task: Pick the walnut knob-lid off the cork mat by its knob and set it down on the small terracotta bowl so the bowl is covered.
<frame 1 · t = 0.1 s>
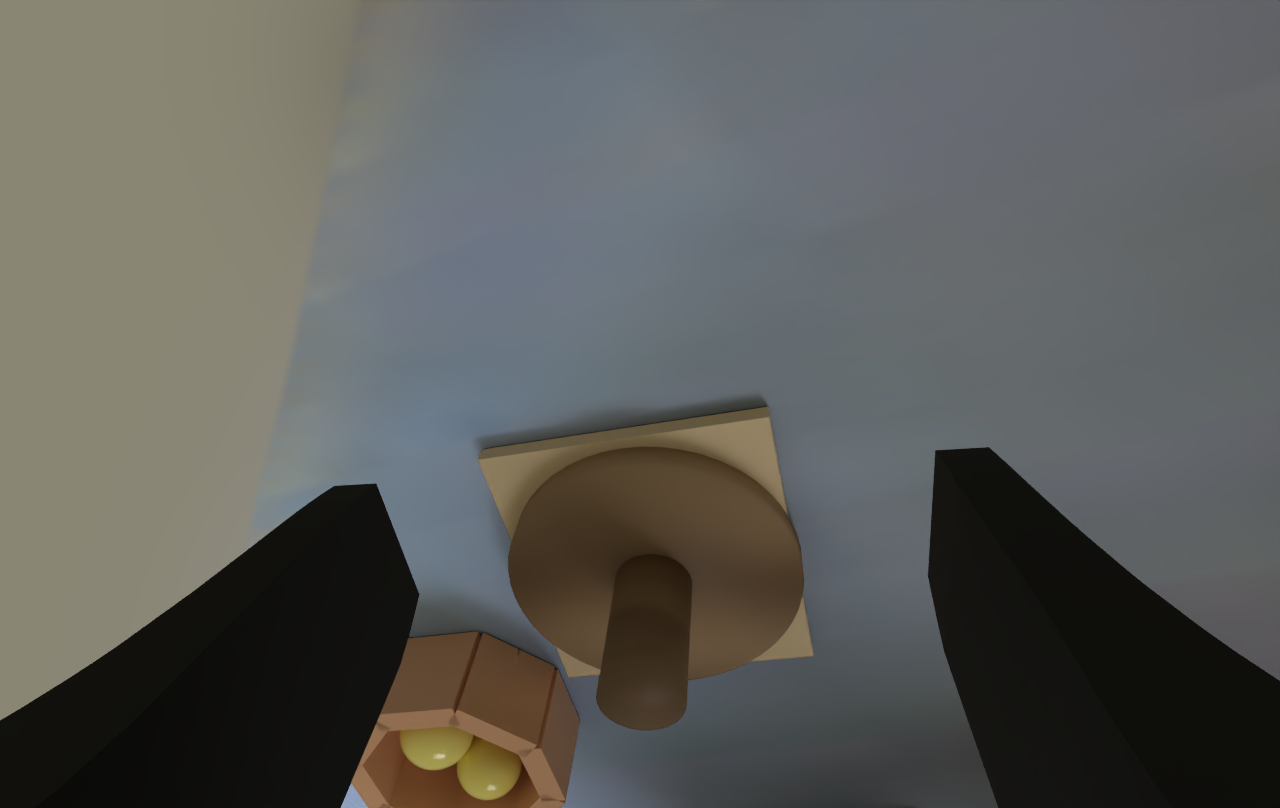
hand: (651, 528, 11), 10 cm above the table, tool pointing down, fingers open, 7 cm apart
mat: (657, 552, 24), on the table
bowl: (475, 703, 29), on the table
lid: (655, 563, 24), resting on mat
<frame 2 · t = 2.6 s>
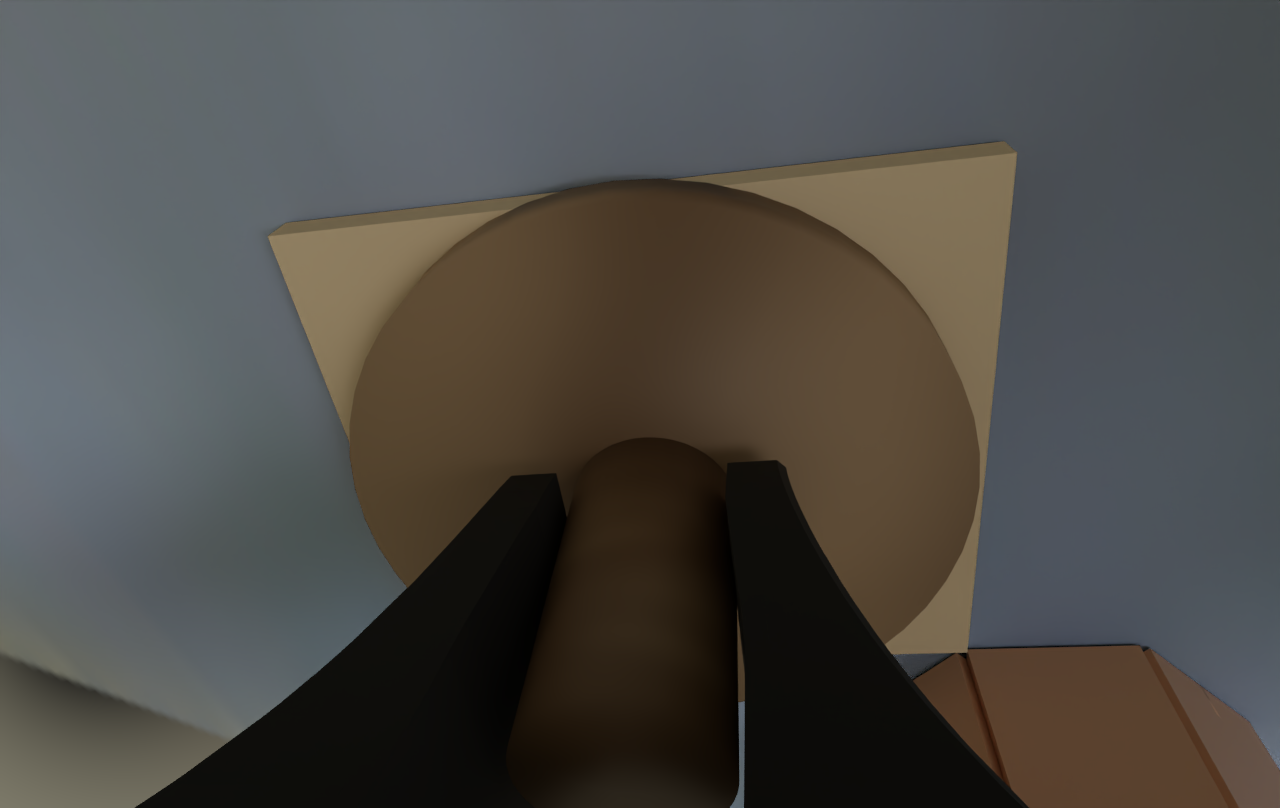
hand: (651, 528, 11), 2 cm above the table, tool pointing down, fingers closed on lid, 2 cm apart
mat: (661, 449, 12), on the table
bowl: (1029, 775, 15), on the table
lid: (658, 469, 12), resting on mat, touching gripper
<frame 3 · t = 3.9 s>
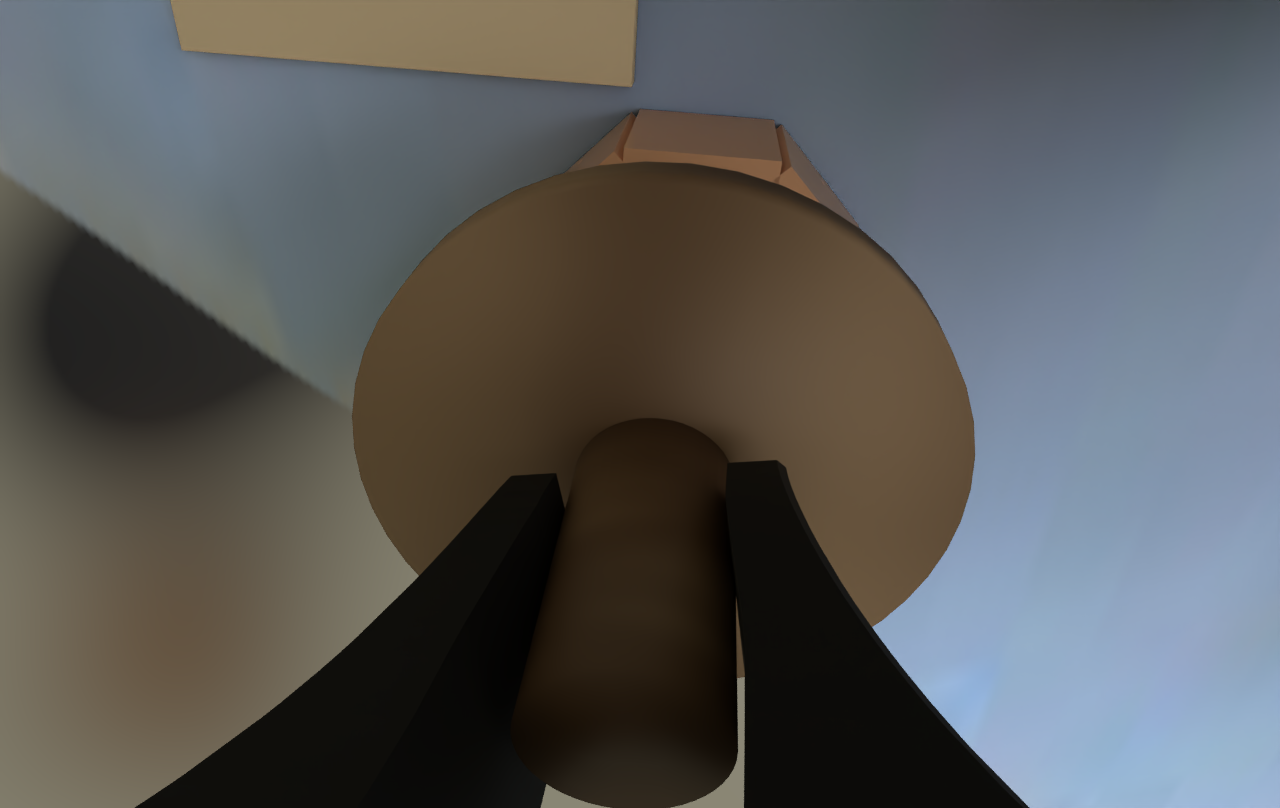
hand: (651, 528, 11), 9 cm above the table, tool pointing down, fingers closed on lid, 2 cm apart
bowl: (690, 275, 18), on the table
lid: (658, 449, 12), point 7 cm above the table, touching gripper
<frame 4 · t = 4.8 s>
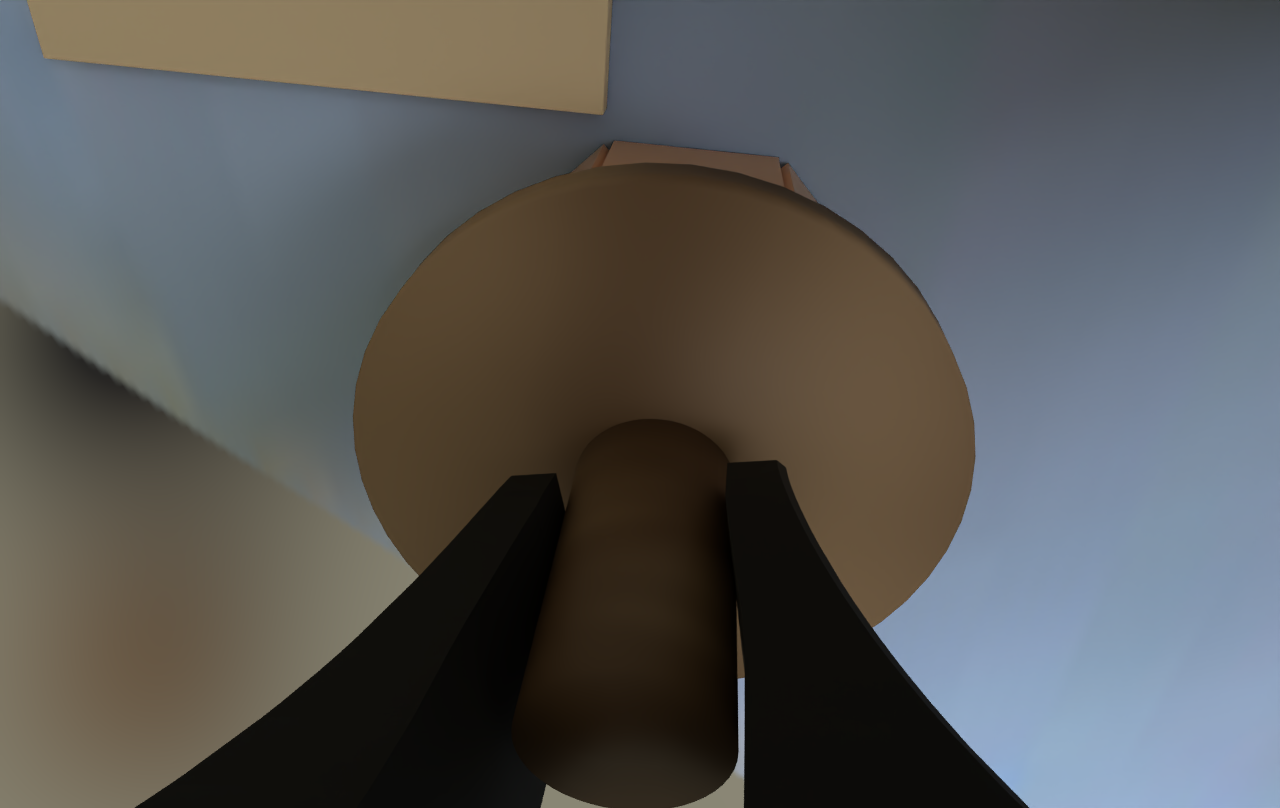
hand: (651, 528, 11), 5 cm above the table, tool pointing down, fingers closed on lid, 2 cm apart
bowl: (674, 338, 15), on the table
lid: (658, 450, 12), point 4 cm above the table, touching gripper
when the fingers open (5 cm above the table, at t = 5.2 s): lid stays where it is, resting on bowl.
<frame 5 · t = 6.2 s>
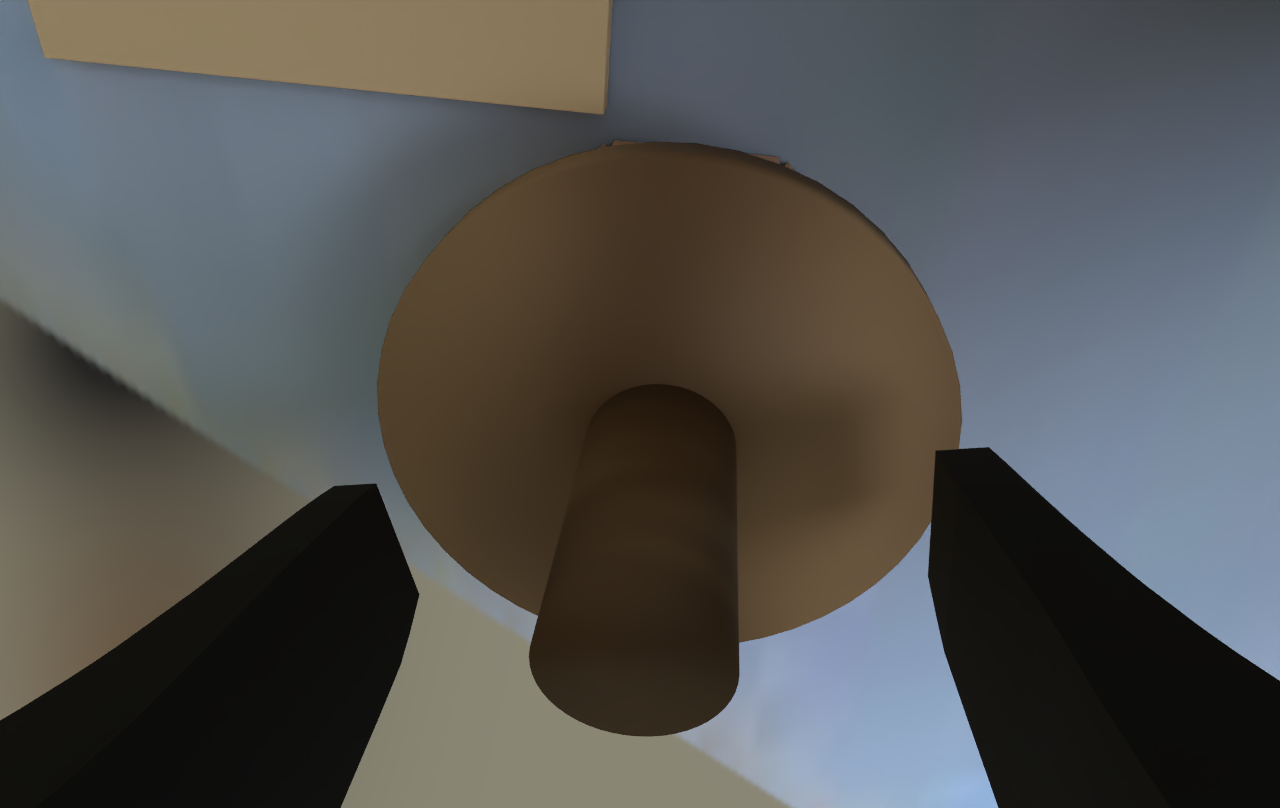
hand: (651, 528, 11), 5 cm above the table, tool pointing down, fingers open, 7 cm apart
lid: (664, 418, 12), point 3 cm above the table, touching bowl
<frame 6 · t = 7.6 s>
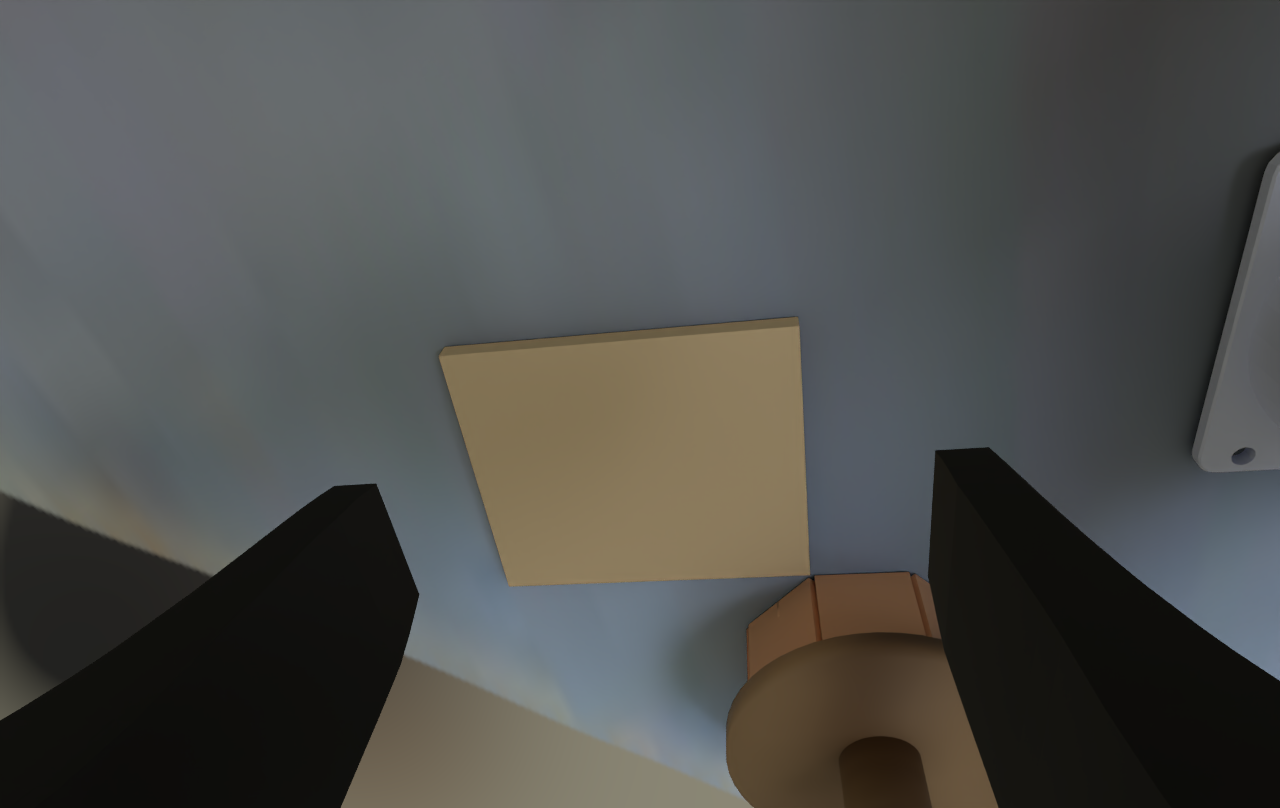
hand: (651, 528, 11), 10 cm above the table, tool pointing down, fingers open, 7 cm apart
mat: (637, 461, 22), on the table
bowl: (861, 655, 25), on the table
lid: (875, 736, 23), point 3 cm above the table, touching bowl
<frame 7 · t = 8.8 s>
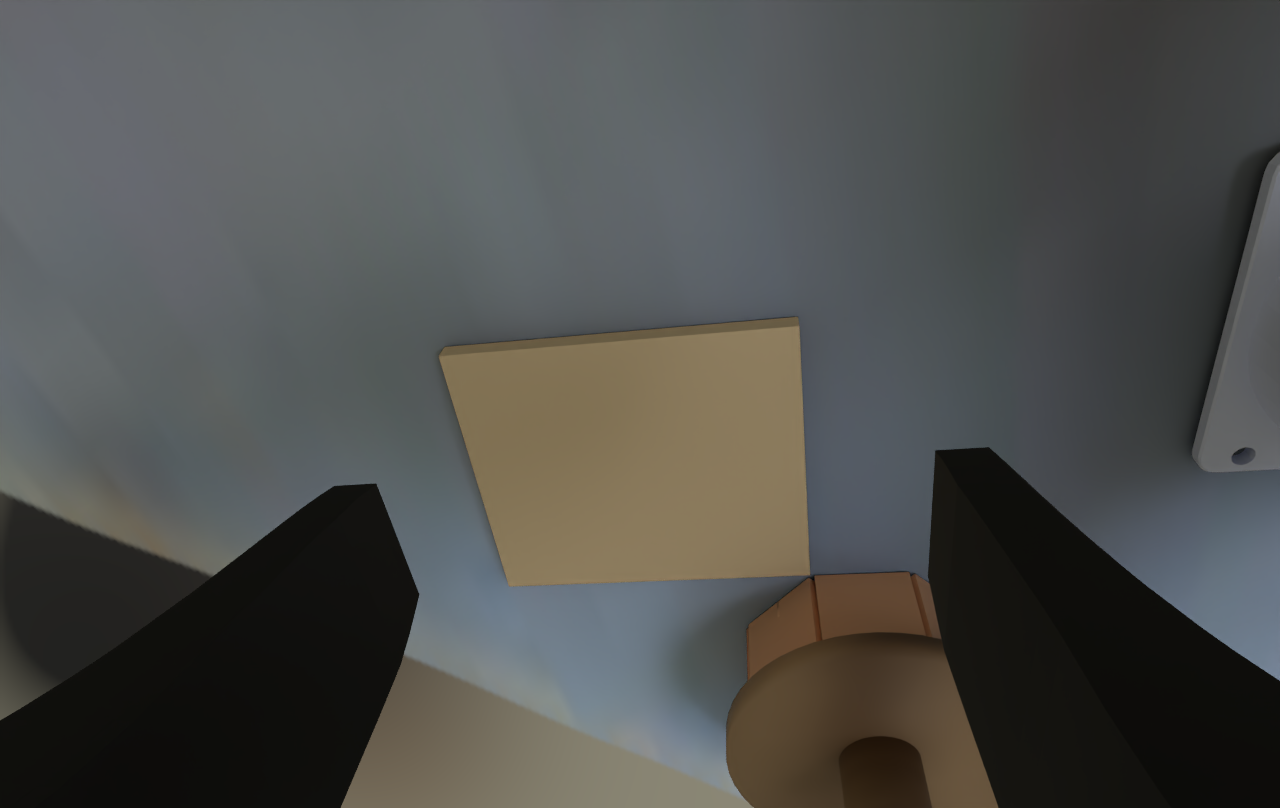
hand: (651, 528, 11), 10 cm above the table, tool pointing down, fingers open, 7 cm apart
mat: (637, 461, 22), on the table
bowl: (861, 655, 25), on the table
lid: (875, 736, 23), point 3 cm above the table, touching bowl
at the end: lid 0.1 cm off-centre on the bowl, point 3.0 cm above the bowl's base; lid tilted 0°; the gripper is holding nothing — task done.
